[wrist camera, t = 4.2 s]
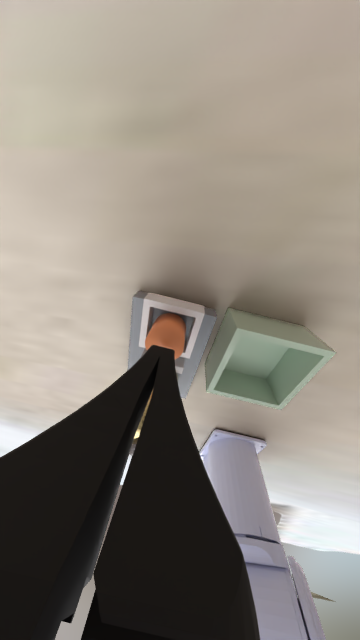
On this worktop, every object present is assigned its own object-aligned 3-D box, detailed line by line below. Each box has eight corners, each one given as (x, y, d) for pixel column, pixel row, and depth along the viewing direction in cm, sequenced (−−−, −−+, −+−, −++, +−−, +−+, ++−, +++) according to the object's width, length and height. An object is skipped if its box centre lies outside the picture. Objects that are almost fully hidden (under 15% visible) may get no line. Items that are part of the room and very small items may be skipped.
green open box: (266, 378, 17) (281, 410, 14) (204, 363, 17) (206, 392, 14) (304, 326, 13) (336, 352, 10) (228, 307, 13) (237, 327, 10)
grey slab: (184, 391, 19) (182, 415, 17) (131, 379, 19) (121, 400, 17) (218, 302, 13) (222, 317, 11) (139, 283, 13) (125, 293, 11)
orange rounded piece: (182, 344, 13) (179, 364, 11) (152, 336, 13) (143, 356, 11) (189, 317, 12) (187, 335, 9) (156, 309, 11) (147, 325, 9)
